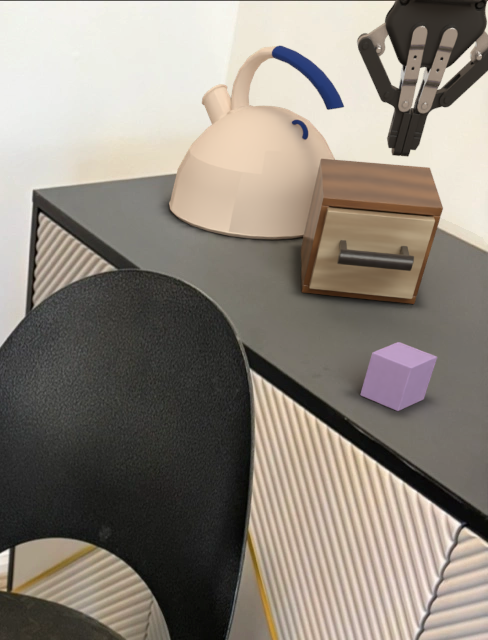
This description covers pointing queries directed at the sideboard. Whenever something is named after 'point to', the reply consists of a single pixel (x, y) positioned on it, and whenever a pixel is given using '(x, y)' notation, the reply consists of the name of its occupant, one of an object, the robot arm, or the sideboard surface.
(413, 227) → the drawer
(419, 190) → the wooden nightstand
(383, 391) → the purple cube
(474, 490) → the sideboard surface
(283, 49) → the kettle
